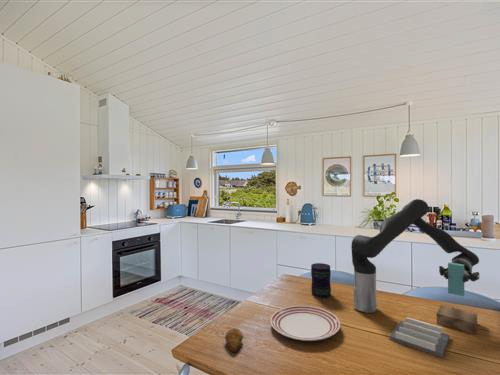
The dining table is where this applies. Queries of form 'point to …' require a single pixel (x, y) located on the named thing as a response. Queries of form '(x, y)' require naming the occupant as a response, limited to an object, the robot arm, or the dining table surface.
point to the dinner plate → (305, 323)
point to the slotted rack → (421, 336)
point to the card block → (455, 279)
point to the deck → (457, 319)
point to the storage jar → (321, 280)
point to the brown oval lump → (234, 339)
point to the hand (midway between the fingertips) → (455, 278)
